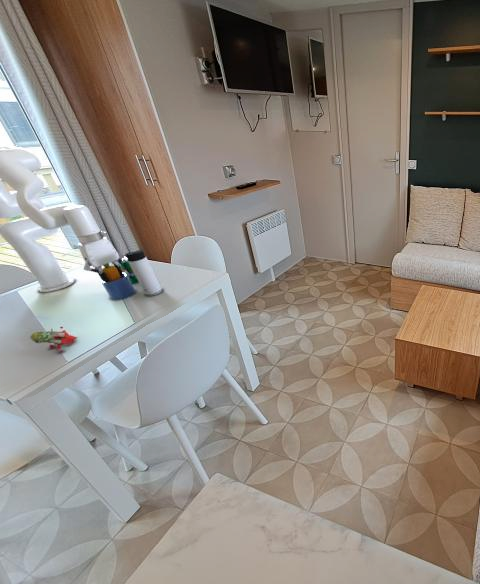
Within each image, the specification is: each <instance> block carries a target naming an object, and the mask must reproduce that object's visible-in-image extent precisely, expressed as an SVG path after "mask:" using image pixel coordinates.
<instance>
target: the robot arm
mask: <svg viewBox="0 0 480 584" xmlns="http://www.w3.org/2000/svg"><path fill="white" fill-rule="evenodd" d="M41 168H42V164H41V161H40V159H39V158H38V157H37V156H36V154H35V153H33V152H32V151H30V150H28V149H26V148H23V147H19V146H18V147H17V146H11V145H0V219H11V218H16V217H20V216H25V217H22V218H18V219H14V220H10V221H7V222H4V223H2V224H1V225H0V236H1V238H2V239H3V240H5V242H6V243H8V244H9V246H11V248H12V249H14V251H15V252H16V254H17V255H18V256H19V258H20V260H22V262H23V263H24V265H25V266H26V267H27V269H28V270H29V271H30V273H31V274H32V276H33V277H34V278H35V280H36V281H37V283H38V284H39V286H38V287H37V291H38V292H40V293H49V292H55V291H58V290H62V289H64V288H67V287H69V286H71V285H72V284H74V283H75V279H74V277H68V276H67V274H66V272H65V271H64V270H63V268H62V266H61V265H60V264H59V262H58V261H57V259H56V257H55V256H54V254H53V253H52V251H51V250H50V248H49V247H48V246H46V245H44V244H42V243H39V242H37V240H40V239H44V238H47V237H50V236H53V235H55V234H57V233H58V231H59V229H60V228H63V227H66V226H70V228H71V230H72V231H73V233H74V235H75V237H76V238H77V240H78V241H79V243H78V244H77V245H78V249H79V252H80V254H81V256H82V258H83V260H84V265H83V270H84V271H87V272H93V273H97V275H98V276H99V278H100V280H104V281H109V279H108V277H107V275H106V274H105V273H104V272H103V271H102V269H103V267H102V266H103V265H105V264H108V263H109V264H110V263H111V264H112V266H115V267H116V268H117V270H118V272H119V274H120V275H123V271H122V269H121V267H120V266H121V262H122V260H123V258H124V257H125V254H123V253H120V252H118V251H117V249H116V248H115V247H114V245H113V244H112V243H111V242H110V240H109V239H108V237H107V236H105V235H106V234H107V232H106V231H105V230H101V229H100V227H99V225H98V224H97V222H96V219H95V218H94V216H93V215H92V212H91V210H90V208H89V207H88V206H86V205H82V204H80V205H79V204H78V205H77V204H75V203H63V204H59V205H54V206H50V207H46V205H45V204H44V202H43V201H42V199H41V198H40V197H39V196H38V194H39V193H41V192H42V191H43V190H44V189H45V188H44V187H45V182H44V181H43V180H42V179H41V178H39V177H38V176H37V175H36V174H35V173H34V172H35V171H39V170H40V169H41ZM5 184H7V186H9V187H10V188H12V189H13V191H10V190H9V189H8V188H7V186H6V185H5Z"/></svg>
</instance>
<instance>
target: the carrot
mask: <svg viewBox="0 0 480 584" xmlns="http://www.w3.org/2000/svg"><path fill="white" fill-rule="evenodd" d="M102 266H103V267H102V271H103V272H104V273H105V274H106V275H107V277H108V279H109V282H112V281H116V280H119V279H121V276H120V274H119V272H118V270H117V268H116V267H115V266H114V265H110V263H108V264H105V265H102Z"/></svg>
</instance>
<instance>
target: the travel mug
mask: <svg viewBox="0 0 480 584" xmlns="http://www.w3.org/2000/svg"><path fill="white" fill-rule="evenodd" d="M124 257H126V258H127V260H128V262H129V264H130V266H131V268H132V270H133V272H134V274H135V275H136V277H137V279H138V281H139V282H138V283H139V285H140V287H141V289H142V291H143V293H144V294H145V296H146V297H152V296H153V297H154V296H156V295H159V294H161V293H162V291H163V288H162V286H161V285H160V282H159V280H158V278H157V276H156V274H155V272H154V270H153V268H152V265H151V263H150V262H149V259H148V258H147V256H146V254H145V252H144V250H143V249H138V250H135V251H132V252H127V253H125V254H124Z"/></svg>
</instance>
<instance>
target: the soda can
mask: <svg viewBox="0 0 480 584" xmlns="http://www.w3.org/2000/svg"><path fill="white" fill-rule="evenodd" d="M120 267H121V269H122V271H123V273H125V274H127V276H128V278H129V280H130V282H131V284H132V285H133V284H138V283H139V281H138V279H137V277H136V275H135V274H134V272H133V270H132V268H131V266H130V264H129V262H128V260H127V258H126V256H124V258H123V260H122V262H121V266H120Z"/></svg>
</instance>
